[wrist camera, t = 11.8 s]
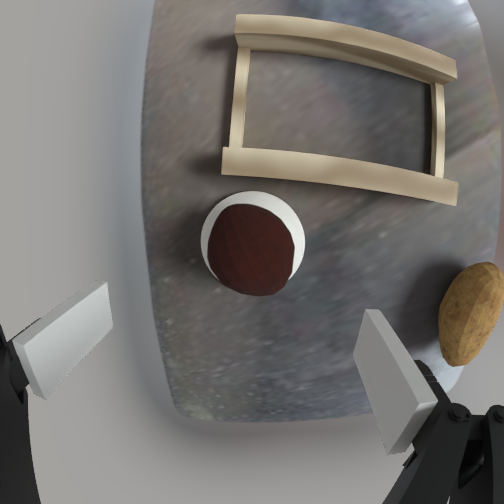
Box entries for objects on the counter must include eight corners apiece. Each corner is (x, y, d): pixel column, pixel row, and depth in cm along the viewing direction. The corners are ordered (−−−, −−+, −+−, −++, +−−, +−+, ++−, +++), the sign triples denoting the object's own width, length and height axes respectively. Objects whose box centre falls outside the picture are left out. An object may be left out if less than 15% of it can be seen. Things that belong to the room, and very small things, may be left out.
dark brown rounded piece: (269, 185, 28) (268, 187, 21) (306, 265, 30) (316, 294, 22) (199, 219, 30) (175, 233, 22) (239, 294, 31) (228, 329, 24)
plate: (204, 187, 29) (202, 188, 29) (309, 195, 29) (310, 196, 28) (201, 285, 32) (199, 287, 31) (297, 294, 32) (298, 297, 31)
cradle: (241, 33, 24) (236, 14, 20) (436, 70, 23) (455, 60, 19) (228, 174, 29) (221, 174, 25) (435, 201, 28) (456, 206, 23)
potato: (411, 344, 33) (435, 379, 25) (445, 245, 29) (483, 264, 21) (458, 346, 32) (484, 375, 25) (491, 258, 29) (526, 276, 21)
